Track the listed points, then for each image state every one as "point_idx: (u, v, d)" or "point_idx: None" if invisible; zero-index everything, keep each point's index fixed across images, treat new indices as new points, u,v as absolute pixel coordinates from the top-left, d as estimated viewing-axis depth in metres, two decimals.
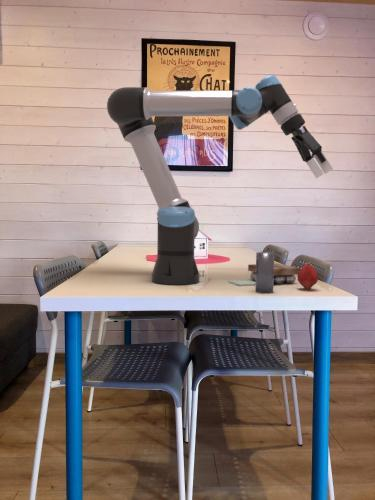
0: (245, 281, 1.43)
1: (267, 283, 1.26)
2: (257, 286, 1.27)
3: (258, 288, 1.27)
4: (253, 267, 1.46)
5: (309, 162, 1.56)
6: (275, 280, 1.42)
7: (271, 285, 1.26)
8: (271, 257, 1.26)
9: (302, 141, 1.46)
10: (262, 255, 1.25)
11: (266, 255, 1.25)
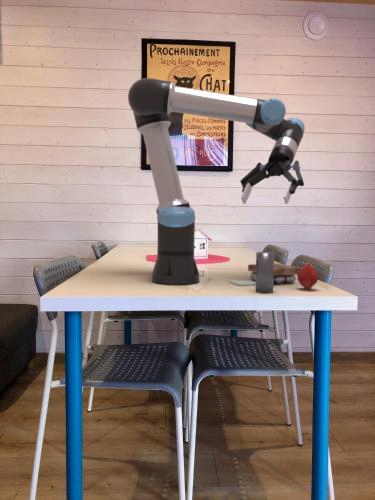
0: (245, 281, 1.43)
1: (267, 283, 1.26)
2: (257, 286, 1.27)
3: (258, 288, 1.27)
4: (253, 267, 1.46)
5: (249, 186, 1.43)
6: (275, 280, 1.42)
7: (271, 285, 1.26)
8: (271, 257, 1.26)
9: (286, 169, 1.41)
10: (262, 255, 1.25)
11: (266, 255, 1.25)
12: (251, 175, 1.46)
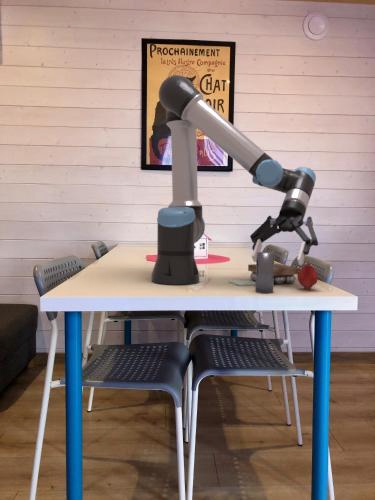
0: (245, 281, 1.43)
1: (267, 283, 1.26)
2: (257, 286, 1.27)
3: (259, 288, 1.27)
4: (253, 267, 1.46)
5: (260, 242, 1.37)
6: (275, 280, 1.42)
7: (271, 285, 1.27)
8: (271, 257, 1.26)
9: (299, 225, 1.34)
10: (262, 255, 1.25)
11: (266, 255, 1.25)
12: (261, 230, 1.40)
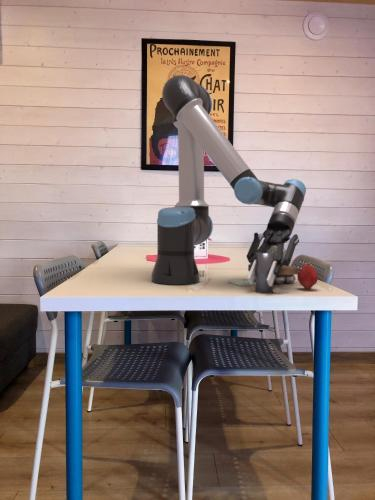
0: (245, 281, 1.43)
1: (267, 283, 1.26)
2: (257, 286, 1.27)
3: (259, 288, 1.27)
4: None
5: None
6: (275, 280, 1.42)
7: None
8: (271, 257, 1.25)
9: (281, 242, 1.30)
10: (262, 255, 1.25)
11: (266, 255, 1.25)
12: (254, 248, 1.33)
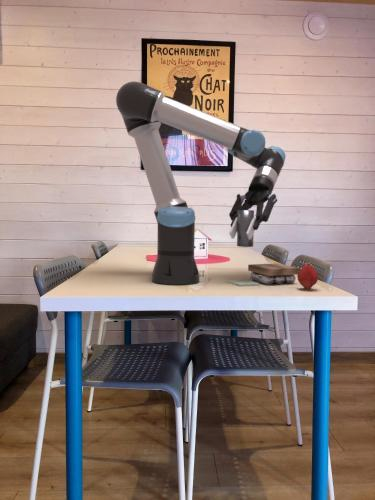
0: (245, 281, 1.43)
1: (247, 238, 1.38)
2: (238, 240, 1.39)
3: (240, 242, 1.39)
4: (253, 267, 1.46)
5: None
6: (275, 280, 1.42)
7: (251, 239, 1.39)
8: (251, 213, 1.38)
9: (260, 201, 1.42)
10: (242, 212, 1.38)
11: (246, 211, 1.37)
12: (236, 207, 1.46)
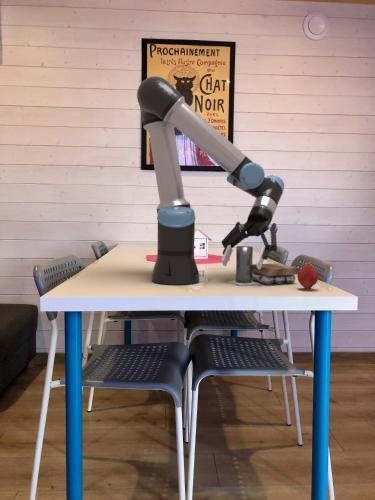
0: None
1: (246, 274, 1.39)
2: (237, 277, 1.41)
3: (238, 278, 1.40)
4: (253, 267, 1.46)
5: (230, 248, 1.45)
6: (275, 280, 1.42)
7: (250, 276, 1.40)
8: (249, 250, 1.39)
9: (263, 231, 1.43)
10: (241, 249, 1.39)
11: (245, 248, 1.38)
12: (231, 235, 1.48)
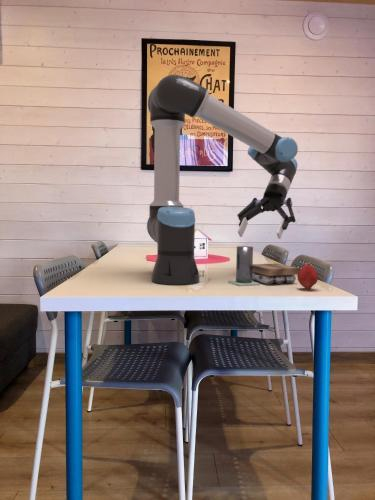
0: None
1: (246, 274, 1.39)
2: (237, 277, 1.41)
3: (239, 278, 1.40)
4: (253, 267, 1.46)
5: (245, 220, 1.56)
6: (275, 280, 1.42)
7: (250, 276, 1.40)
8: (250, 250, 1.39)
9: (279, 205, 1.53)
10: (242, 249, 1.39)
11: (245, 249, 1.39)
12: (247, 209, 1.59)
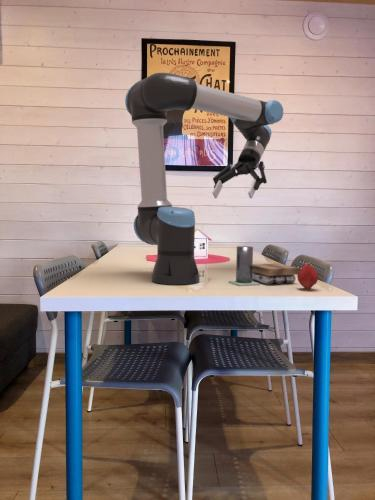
0: None
1: (246, 274, 1.39)
2: (237, 277, 1.41)
3: (239, 278, 1.40)
4: (253, 267, 1.46)
5: (220, 183, 1.64)
6: (275, 280, 1.42)
7: (250, 276, 1.40)
8: (250, 250, 1.39)
9: (252, 168, 1.61)
10: (242, 249, 1.39)
11: (245, 248, 1.39)
12: (222, 173, 1.67)
